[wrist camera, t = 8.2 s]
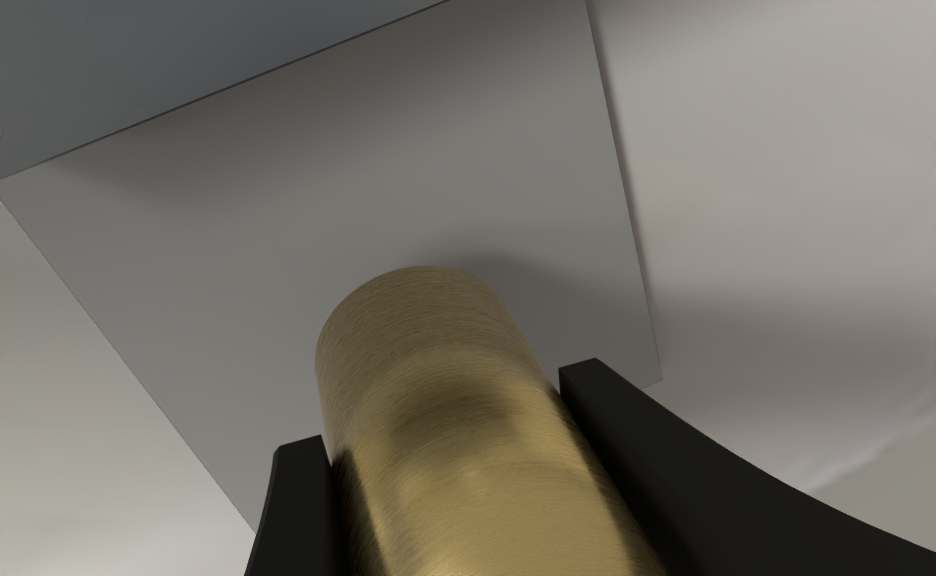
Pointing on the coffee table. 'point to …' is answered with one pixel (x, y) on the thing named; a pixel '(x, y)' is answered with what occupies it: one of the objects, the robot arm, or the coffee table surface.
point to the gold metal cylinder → (460, 442)
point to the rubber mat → (347, 217)
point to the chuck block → (148, 59)
